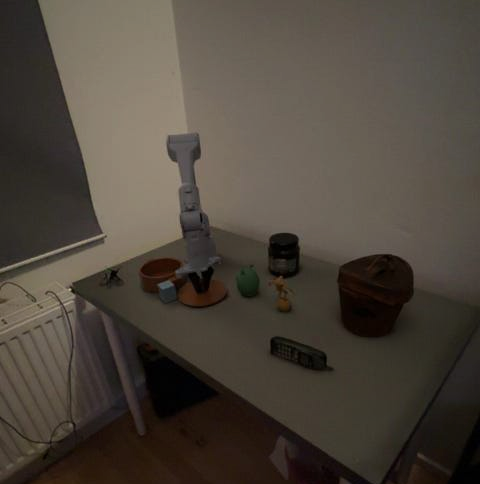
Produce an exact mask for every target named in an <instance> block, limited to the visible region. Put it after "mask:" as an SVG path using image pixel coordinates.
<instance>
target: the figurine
mask: <svg viewBox="0 0 480 484" xmlns="http://www.w3.org/2000/svg"><path fill="white" fill-rule="evenodd" d="M272 284H274V286H275V287H276V288H275V289H276V291H277V292H278V297H279V299H278V300H277V308H278V310H280V311H281V312H287V311H289V310H291V308H292V304H293V303H292V301H291V299H290V298H289V297H287V295H288V293H289V292H288V291H290V292H291V293H292V294H293V295H296V293H295V291H294V290H293V289H292V288H291V287H290V286H289V285H287V284H286V283H285V282H284V277H282V276H280V277H278V278H277V279H273V280H270V281H268V287H271V286H272ZM285 288H286V289H288V291H287V290H286V289H285ZM282 293H283V296H282Z"/></svg>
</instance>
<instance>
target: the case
mask: <svg viewBox="0 0 480 484" xmlns="http://www.w3.org/2000/svg"><path fill="white" fill-rule="evenodd" d="M414 275H415V274H414V270H413V268H412V266H411V264H410V263H409V262H408V261H407V260H406V259H404V258H402V257H401V256H399V255H395V254H391V253H377V254H370V255H365V256H362V257H359V258H355V259H353V260H350V261H347V262H346V263H343V264H341V265H340V266H339V268H338V274H337V278H336V283H337V288H338V297H339V307H340V318H341V323H342V325H343V326H344V328H345V329H347V330H348V331H349V332H351V333H353V334H355V335H358V336H362V337H368V338H375V337H377V338H378V337H382V336H384V335H387V334H390V333H391V332H392V331H393V328H394V326H395V323H396V321H397V320H398V317H399V315H400V313H401V312H402V309H403V308H404V306H405V304H408V303H409V302H410V301H411V300H412V298H413V297H414V294H415V288H414V287H415V286H414V285H415V284H414V283H415V276H414Z"/></svg>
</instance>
